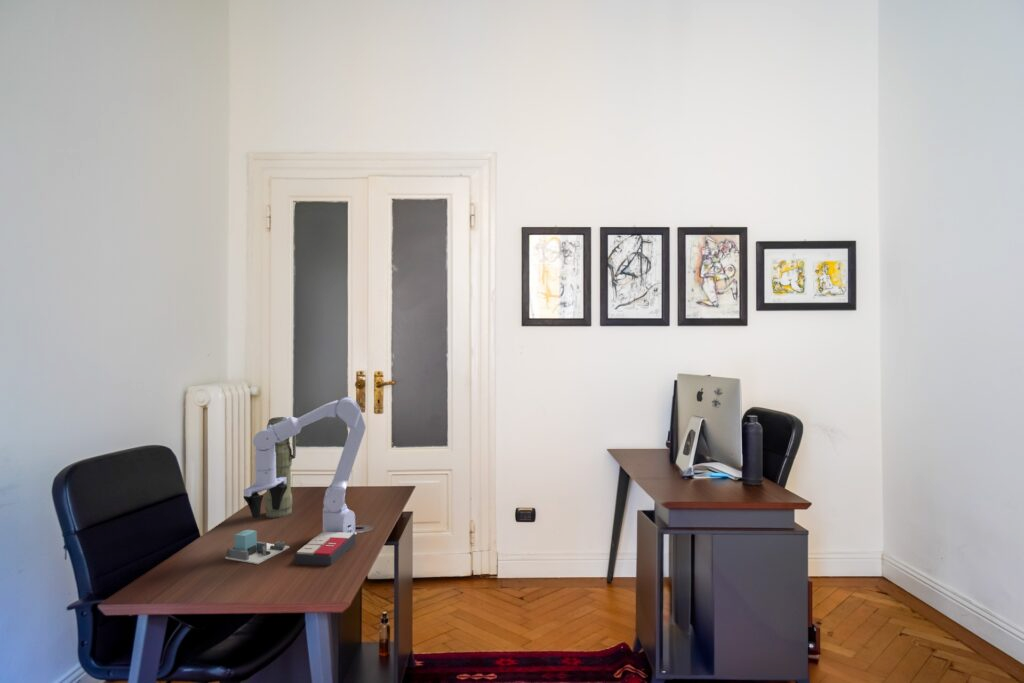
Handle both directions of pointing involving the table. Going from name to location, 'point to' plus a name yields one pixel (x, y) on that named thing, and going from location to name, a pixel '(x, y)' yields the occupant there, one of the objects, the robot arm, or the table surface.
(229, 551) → the end holder
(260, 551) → the board
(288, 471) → the thermos
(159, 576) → the table surface
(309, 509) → the table surface
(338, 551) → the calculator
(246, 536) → the pale blue cube
